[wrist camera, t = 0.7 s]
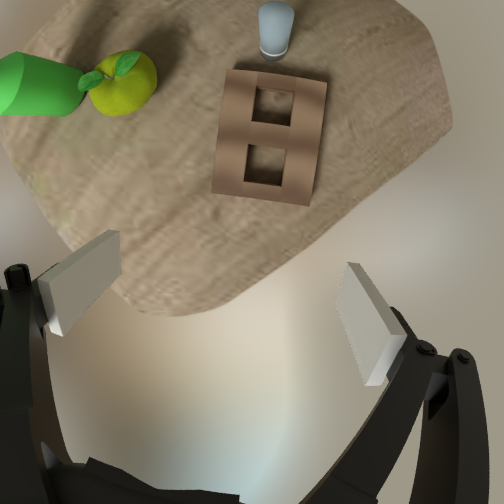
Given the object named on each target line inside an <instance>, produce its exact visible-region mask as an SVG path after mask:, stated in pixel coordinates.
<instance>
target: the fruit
mask: <svg viewBox="0 0 504 504" xmlns="http://www.w3.org/2000/svg"><path fill="white" fill-rule="evenodd" d="M156 86H157V72H156V68H155V66H154V63H153V62H152V60H151V59H150V58H149V57H148V56H147V55H146V54H144V53H142V52H139V51H136V50H125V51H121V52H118V53H115V54H112V55H110V56H108V57H107V58H105V59H104V60H102V61H101V62H100V63H99V64H98V65H97V66H96V68H95V69H94V71H92V72H89V73H86V74H84V75H82V76H81V78H80V80H79V83H78V86H77V87H78V89H79V90H80V91H81V92H83V91H87V90H89V95H90V98H91V100H92V102H93V104H94V106H95V107H96V108H97V109H98V110H99V111H100V112H101V113H103V114H104V115H107V116H121V115H125V114H129V113H131V112H134V111H136V110H138V109H140V108H141V107H143V106H144V105H145V104H146V103H147V101H148V100H149V98H150V97H151V95H152V94H153V92H154V91H155V89H156Z"/></svg>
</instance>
